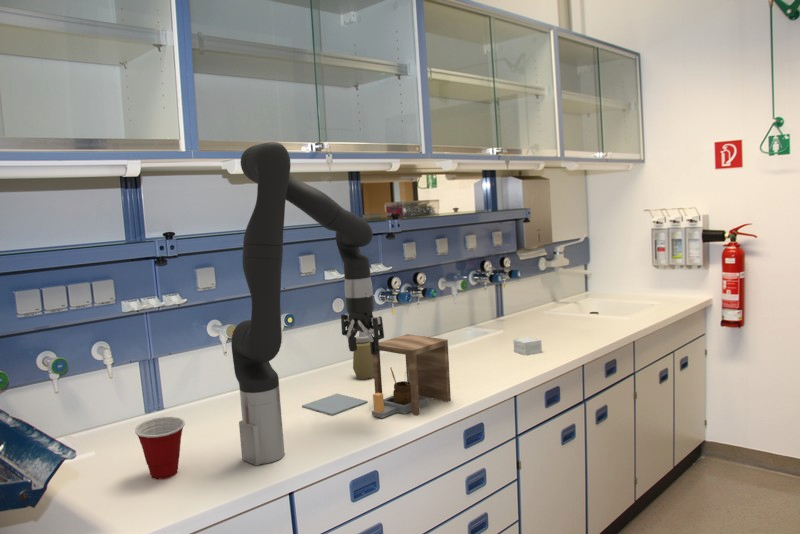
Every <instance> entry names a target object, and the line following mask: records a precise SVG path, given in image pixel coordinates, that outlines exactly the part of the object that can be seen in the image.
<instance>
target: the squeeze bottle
mask: <svg viewBox="0 0 800 534" xmlns="http://www.w3.org/2000/svg"><path fill="white" fill-rule="evenodd" d="M358 332H359V334H358V336H357V335H356V336H355V337H356V343H357V350H356V351H353V352H352V353H353V356H352V357H353V360H352V369H353V372H354V374H355V377H356V378H357V379H358V378H359V379H358V380H369V379H368V378H370V379H372V378H374V377H373V376H374V368H373V355H371V348H370V342H371V341H370V339H369V337H368V336H367V335H365V333H364V332H361V331H358Z"/></svg>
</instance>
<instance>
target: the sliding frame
mask: <svg viewBox="0 0 800 534" xmlns="http://www.w3.org/2000/svg"><path fill="white" fill-rule="evenodd" d="M372 400H373V401H372V402H373V410H372V411H371V416H372V417H373V416H374V417H377V418H380V419H383V418H385V417H389V416H390V415H393V414H396V413H399V414H403V415H405V414H409V413H410V412H412V403H411V402H410V403H408V404H405V405H401V404H397V403H394V399H393V395H391V396H389V397H386V398H384V393H383V392H382V393H376V394H375V393H373V394H372ZM427 405H428V398H427V397H422V396H419V409H420V408H422V407H425V406H427Z"/></svg>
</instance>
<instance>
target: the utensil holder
mask: <svg viewBox="0 0 800 534" xmlns="http://www.w3.org/2000/svg"><path fill="white" fill-rule="evenodd" d="M389 368H390V371H391V376H392V378H393V380H394V384H393V391H392V392H393V393H392V396H393V399H394V403H397V404H401V405H405V404H408V403H410V402H411V386H410V382H408V381H407V380H404V381H397V380H396V377H395V374H394V372H393V368H392V367H389ZM408 376H409V373H408ZM404 378H407V372H406V371H405V374H404Z"/></svg>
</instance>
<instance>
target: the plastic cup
mask: <svg viewBox="0 0 800 534" xmlns="http://www.w3.org/2000/svg"><path fill="white" fill-rule="evenodd" d="M185 425H186V422H185V420H184V419H183V418H181V417H177V416H160V417H155V418H151V419H147V420H144V421H143V422H141V423H138V424H137V425H136V427H134V433H135V435H136V436H137V438H138V439H139V442H140V444H141V449H142V452H143V454H144V458H145V463H146V465H147V468H148V471H149V475H150V476H151V478H152V479H154V480H165V479H169V478H172V477H174V476H175V475H177V473H178V470H179V462H180V461H179V460H180V453H181V442H182V435H183V429H184V427H185Z"/></svg>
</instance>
